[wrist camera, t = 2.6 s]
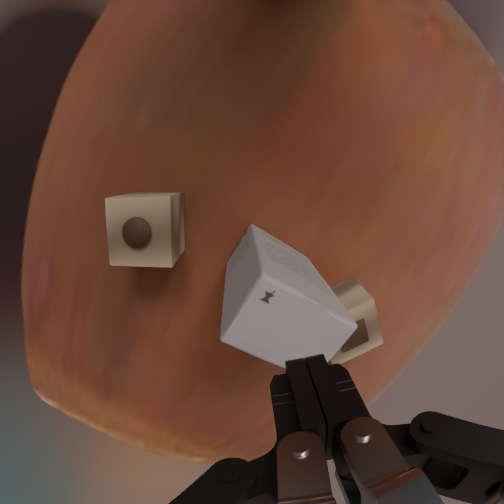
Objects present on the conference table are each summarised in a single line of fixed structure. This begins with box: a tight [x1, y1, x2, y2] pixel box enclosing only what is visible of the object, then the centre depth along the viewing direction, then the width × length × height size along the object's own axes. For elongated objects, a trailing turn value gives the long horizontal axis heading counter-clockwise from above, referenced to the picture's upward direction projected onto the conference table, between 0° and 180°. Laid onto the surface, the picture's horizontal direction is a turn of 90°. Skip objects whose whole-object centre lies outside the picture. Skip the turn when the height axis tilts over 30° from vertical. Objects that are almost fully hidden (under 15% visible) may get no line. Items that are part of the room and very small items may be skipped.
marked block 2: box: [330, 277, 383, 364], centre depth 24 cm, size 5×5×5 cm
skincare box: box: [220, 224, 358, 369], centre depth 19 cm, size 6×4×12 cm
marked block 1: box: [105, 192, 185, 268], centre depth 21 cm, size 5×5×5 cm
